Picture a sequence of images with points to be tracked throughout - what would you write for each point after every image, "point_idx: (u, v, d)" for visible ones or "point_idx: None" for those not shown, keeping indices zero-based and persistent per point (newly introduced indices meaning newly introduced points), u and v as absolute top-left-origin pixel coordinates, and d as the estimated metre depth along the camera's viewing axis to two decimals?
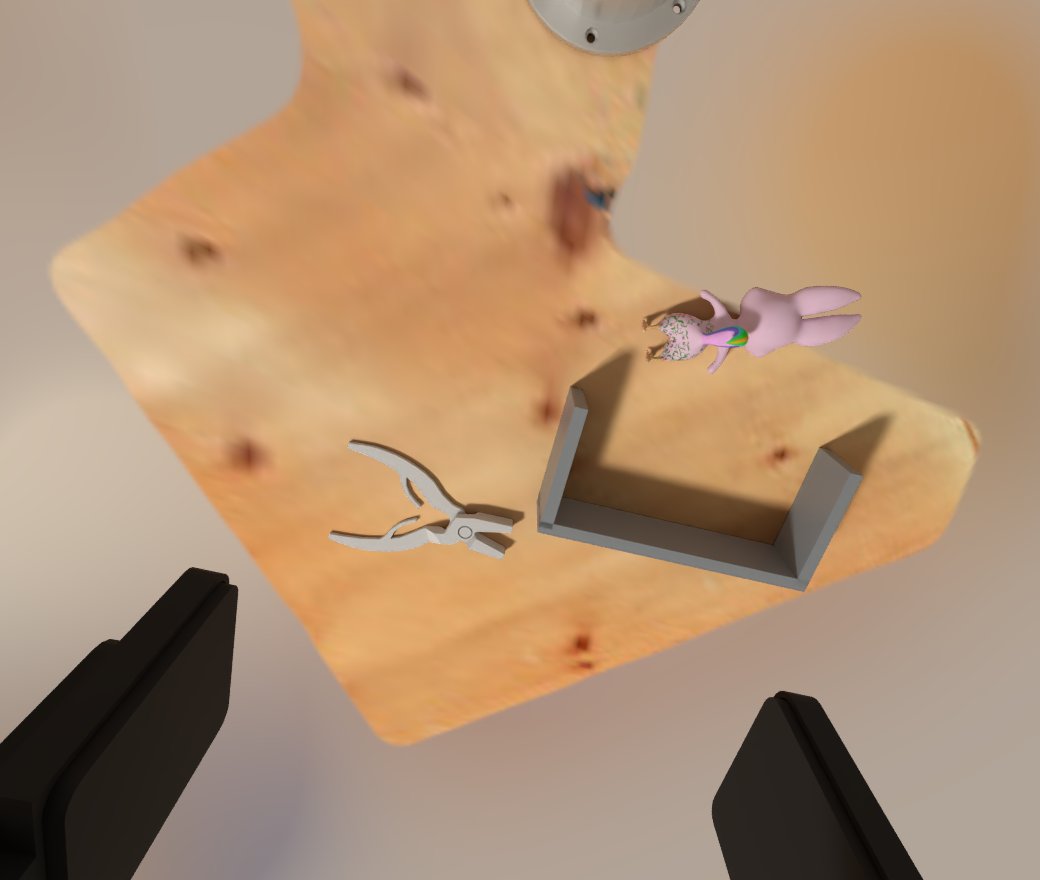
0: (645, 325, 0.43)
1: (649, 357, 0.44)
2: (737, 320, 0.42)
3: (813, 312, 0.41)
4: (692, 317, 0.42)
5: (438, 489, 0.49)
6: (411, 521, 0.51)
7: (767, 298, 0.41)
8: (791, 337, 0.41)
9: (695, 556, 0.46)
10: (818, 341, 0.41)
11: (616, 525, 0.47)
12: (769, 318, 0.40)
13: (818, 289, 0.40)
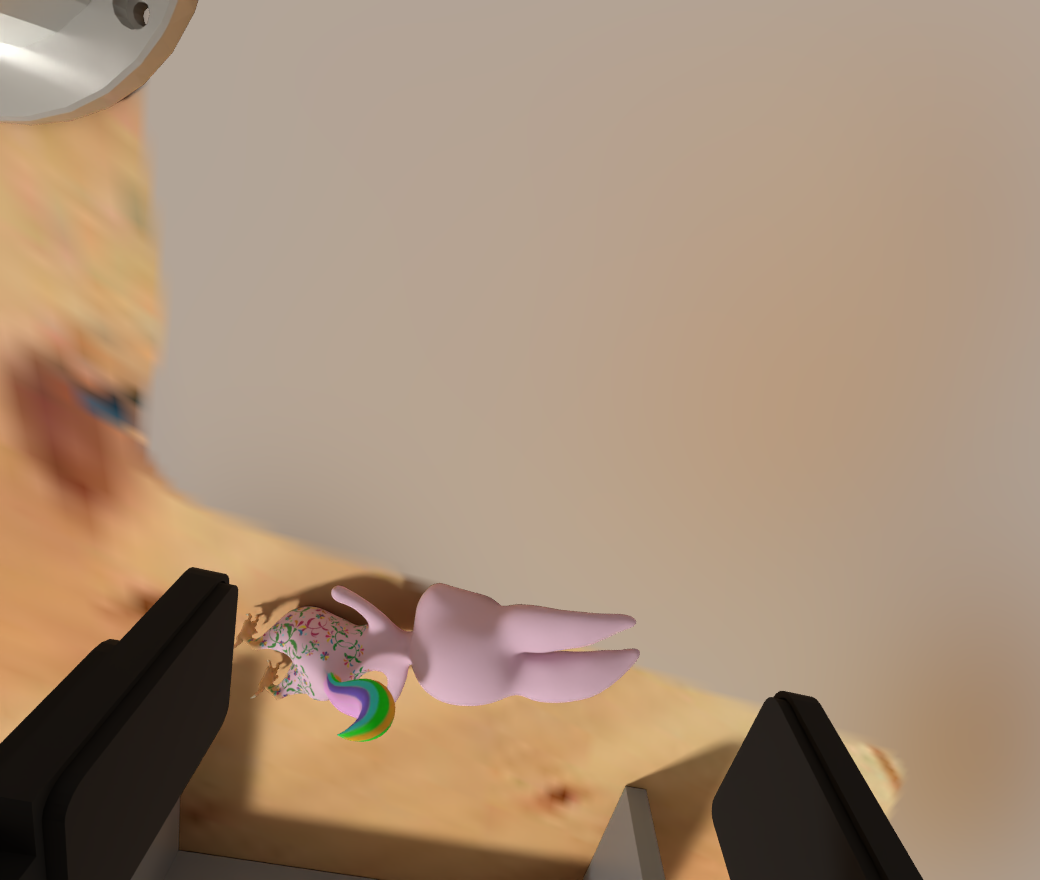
0: (242, 634, 0.22)
1: (264, 682, 0.23)
2: (408, 641, 0.22)
3: (539, 652, 0.20)
4: (317, 635, 0.21)
5: None
6: None
7: (448, 620, 0.20)
8: (497, 697, 0.20)
9: None
10: (554, 700, 0.21)
11: None
12: (443, 671, 0.20)
13: (542, 617, 0.20)
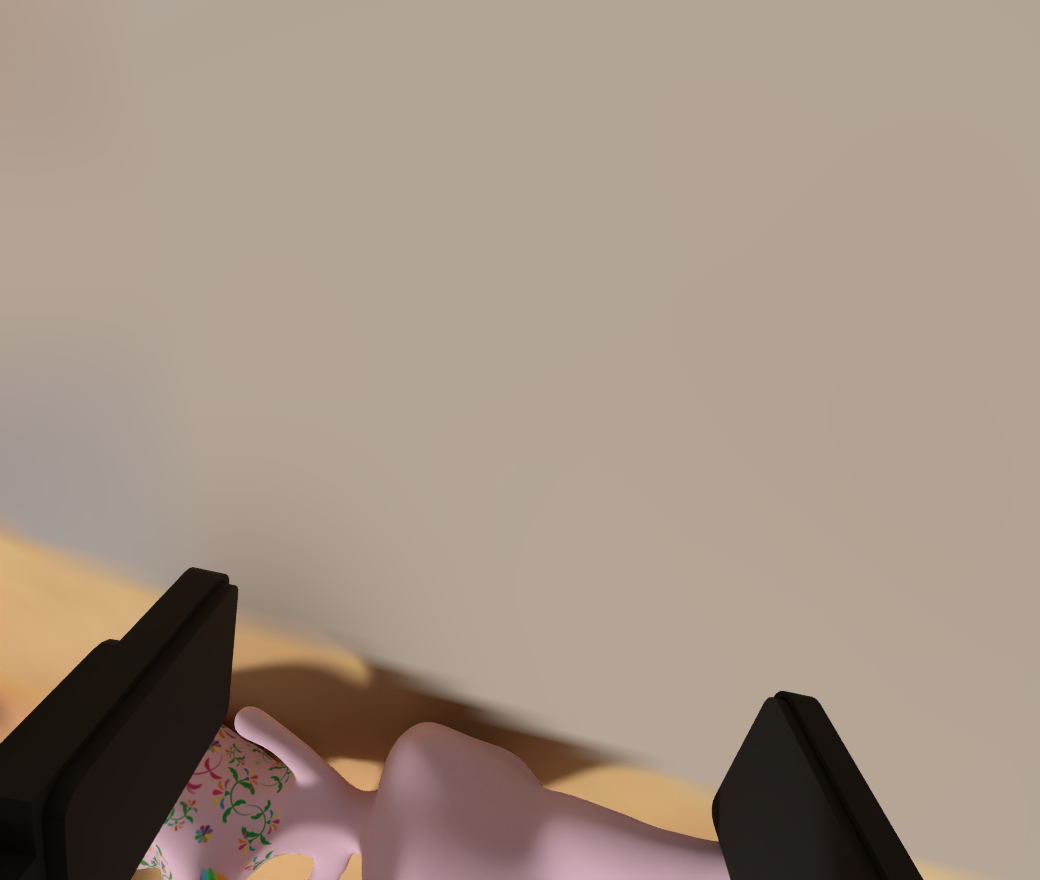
0: None
1: None
2: (361, 818, 0.12)
3: None
4: (197, 790, 0.12)
5: None
6: None
7: (444, 812, 0.11)
8: None
9: None
10: None
11: None
12: None
13: (625, 840, 0.10)
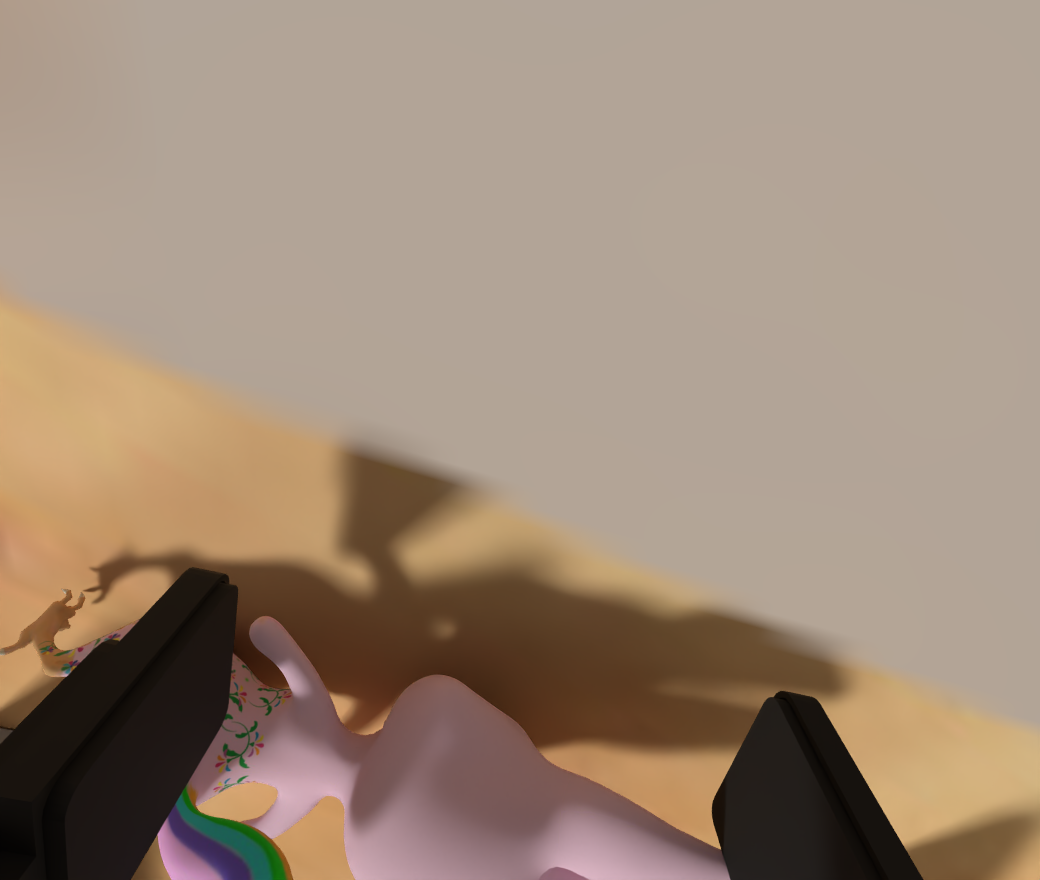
0: (36, 630, 0.11)
1: None
2: (352, 760, 0.11)
3: None
4: None
5: None
6: None
7: (459, 769, 0.10)
8: None
9: None
10: None
11: None
12: (417, 872, 0.10)
13: (641, 833, 0.10)
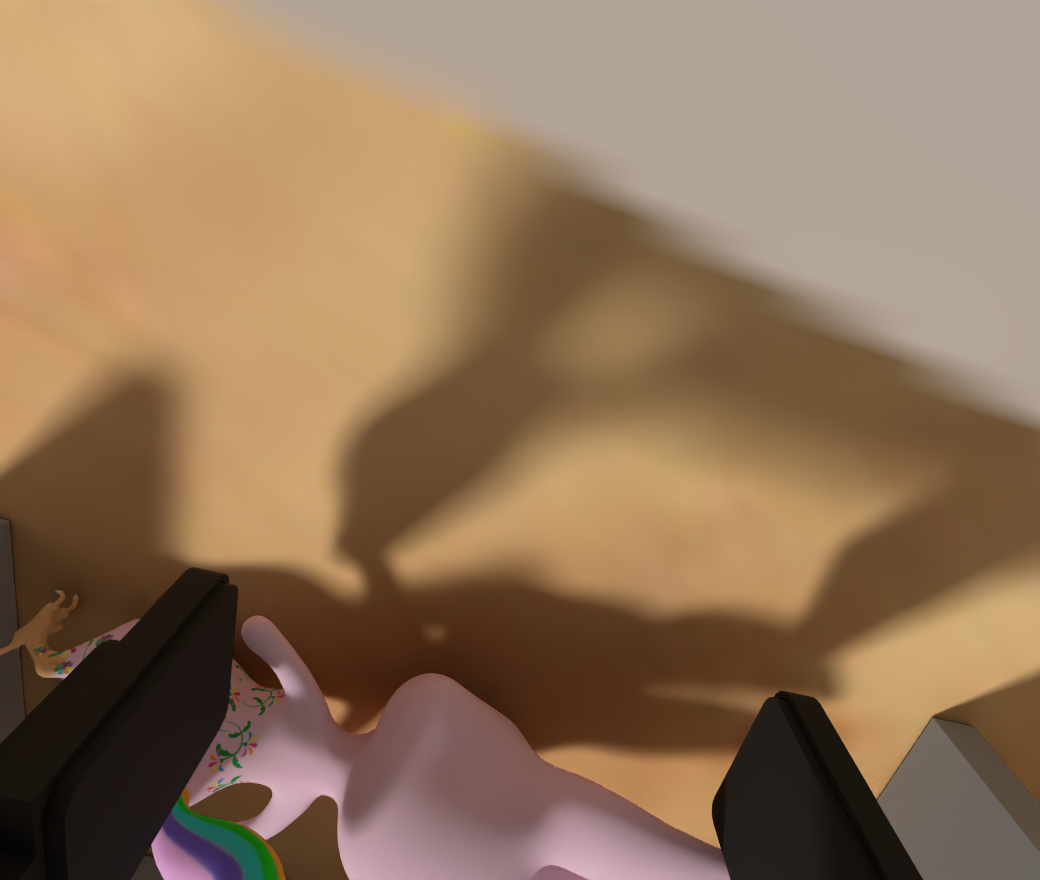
0: (30, 631, 0.11)
1: None
2: (346, 759, 0.11)
3: (589, 879, 0.11)
4: None
5: None
6: None
7: (451, 767, 0.10)
8: None
9: None
10: None
11: None
12: (409, 871, 0.10)
13: (634, 830, 0.10)
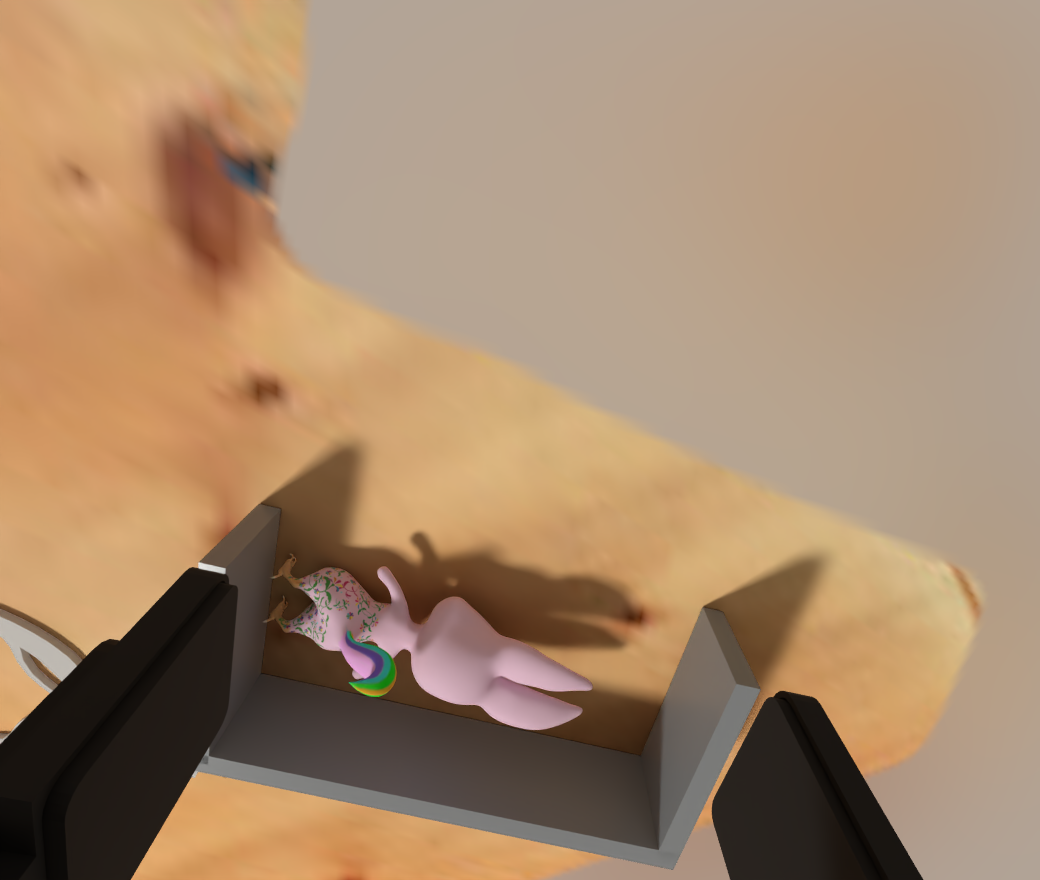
0: (284, 570, 0.26)
1: (276, 613, 0.27)
2: (415, 631, 0.26)
3: (515, 681, 0.26)
4: (349, 597, 0.26)
5: None
6: None
7: (461, 630, 0.25)
8: (468, 702, 0.26)
9: (471, 812, 0.26)
10: (506, 722, 0.26)
11: (347, 741, 0.27)
12: (443, 666, 0.25)
13: (533, 657, 0.25)
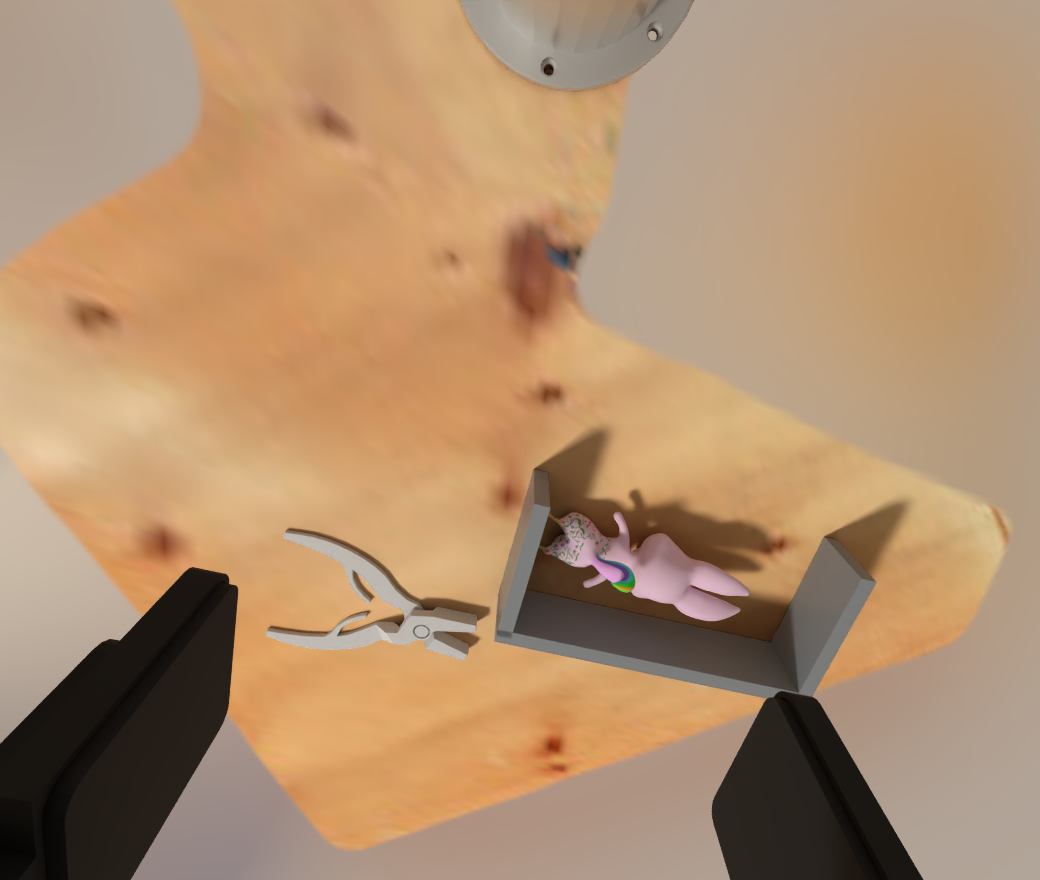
0: None
1: None
2: (634, 555, 0.40)
3: (702, 588, 0.39)
4: (595, 531, 0.39)
5: (390, 583, 0.43)
6: (360, 617, 0.44)
7: (670, 554, 0.39)
8: (671, 601, 0.39)
9: (679, 668, 0.39)
10: (693, 615, 0.40)
11: (588, 627, 0.41)
12: (661, 576, 0.38)
13: (717, 572, 0.39)
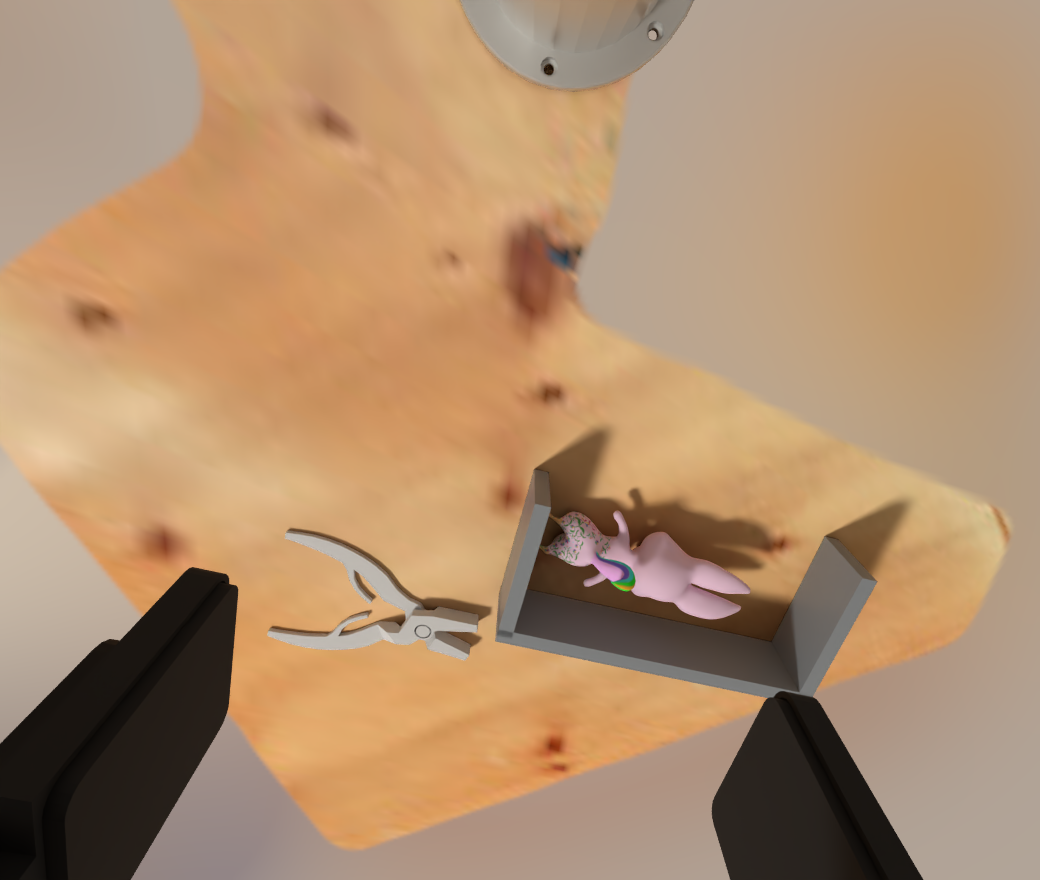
0: None
1: None
2: (634, 554, 0.40)
3: (703, 586, 0.39)
4: (594, 530, 0.39)
5: (391, 582, 0.43)
6: (361, 617, 0.44)
7: (670, 552, 0.39)
8: (672, 599, 0.39)
9: (680, 668, 0.39)
10: (693, 613, 0.40)
11: (588, 627, 0.41)
12: (662, 574, 0.38)
13: (717, 570, 0.39)
